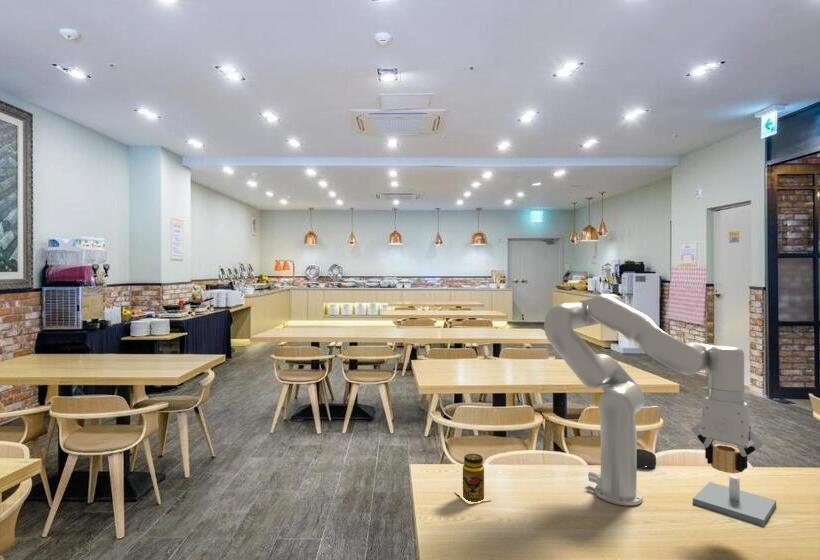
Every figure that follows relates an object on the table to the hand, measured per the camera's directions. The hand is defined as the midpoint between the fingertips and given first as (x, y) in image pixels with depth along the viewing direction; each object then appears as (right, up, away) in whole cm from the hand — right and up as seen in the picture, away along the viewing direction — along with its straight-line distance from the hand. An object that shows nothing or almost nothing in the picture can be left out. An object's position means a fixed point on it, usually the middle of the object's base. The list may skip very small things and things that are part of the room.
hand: (725, 465), depth 117 cm
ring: (0, -1, 0) cm, 1 cm away
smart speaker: (-1, -16, +41) cm, 44 cm away
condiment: (-62, -16, +16) cm, 66 cm away
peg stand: (+11, -16, +12) cm, 22 cm away
